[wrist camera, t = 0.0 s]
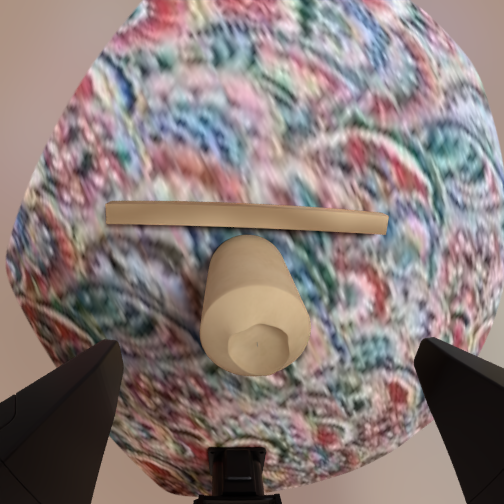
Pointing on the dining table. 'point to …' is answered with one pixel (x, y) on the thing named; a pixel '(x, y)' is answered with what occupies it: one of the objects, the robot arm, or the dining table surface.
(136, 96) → the dining table surface
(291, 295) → the candle
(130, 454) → the dining table surface
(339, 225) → the oak strip
